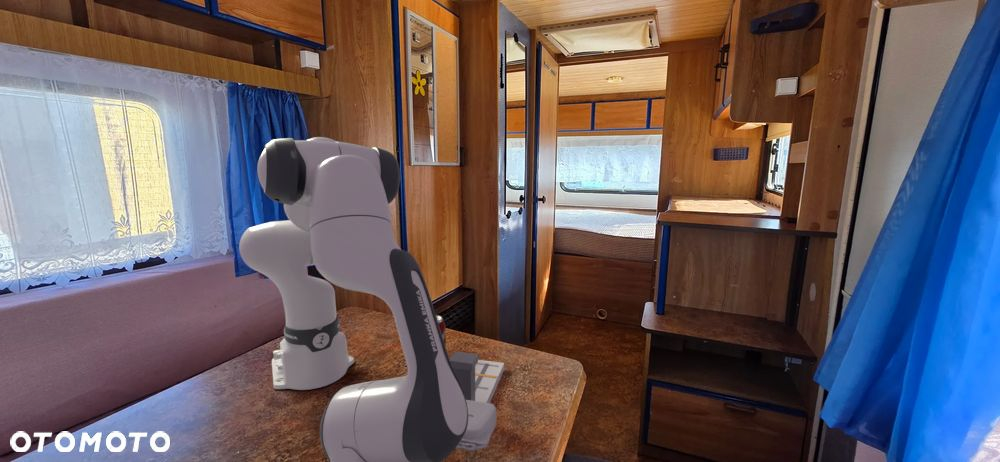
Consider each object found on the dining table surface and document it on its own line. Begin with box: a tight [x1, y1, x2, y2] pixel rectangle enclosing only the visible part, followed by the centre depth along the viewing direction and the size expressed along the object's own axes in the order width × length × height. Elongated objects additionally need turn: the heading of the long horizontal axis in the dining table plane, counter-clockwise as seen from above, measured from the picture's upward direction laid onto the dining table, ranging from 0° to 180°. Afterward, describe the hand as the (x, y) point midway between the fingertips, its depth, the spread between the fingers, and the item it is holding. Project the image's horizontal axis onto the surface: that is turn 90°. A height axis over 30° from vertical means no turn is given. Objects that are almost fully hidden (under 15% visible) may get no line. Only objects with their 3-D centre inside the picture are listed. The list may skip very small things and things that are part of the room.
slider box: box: [475, 359, 505, 403], centre depth 89 cm, size 24×8×2 cm, turn 167°
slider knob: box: [449, 350, 479, 401], centre depth 81 cm, size 4×5×11 cm
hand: (450, 389), depth 72 cm, fingers closed
